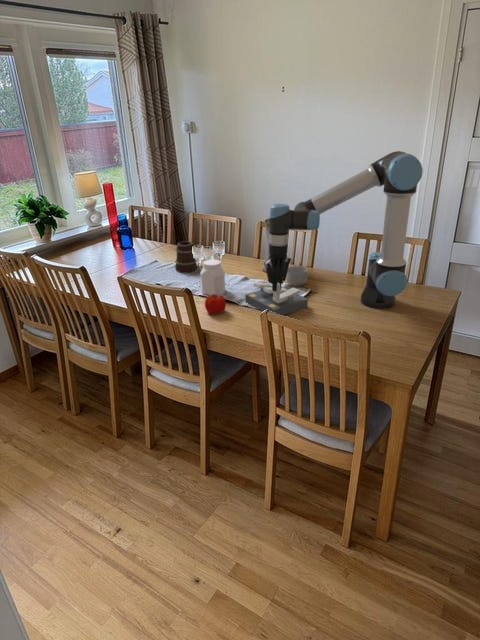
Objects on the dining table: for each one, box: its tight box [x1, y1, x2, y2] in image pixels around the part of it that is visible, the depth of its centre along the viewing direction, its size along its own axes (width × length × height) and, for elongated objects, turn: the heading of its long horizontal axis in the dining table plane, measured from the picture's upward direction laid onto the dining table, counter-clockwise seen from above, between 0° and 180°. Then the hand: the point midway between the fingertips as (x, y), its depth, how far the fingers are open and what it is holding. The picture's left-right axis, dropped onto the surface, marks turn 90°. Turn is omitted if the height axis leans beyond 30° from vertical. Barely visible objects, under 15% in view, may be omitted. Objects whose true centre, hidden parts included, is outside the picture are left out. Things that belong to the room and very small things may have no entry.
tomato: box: [204, 294, 227, 315], centre depth 192 cm, size 9×9×8 cm
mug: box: [174, 240, 198, 273], centre depth 243 cm, size 16×12×15 cm
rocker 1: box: [253, 282, 272, 289], centre depth 201 cm, size 4×12×2 cm, turn 125°
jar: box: [200, 259, 226, 296], centre depth 211 cm, size 12×10×15 cm
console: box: [244, 281, 309, 316], centre depth 197 cm, size 21×19×8 cm
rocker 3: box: [273, 287, 301, 303], centre depth 191 cm, size 4×12×2 cm, turn 125°
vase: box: [262, 217, 270, 273], centre depth 234 cm, size 13×14×28 cm
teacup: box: [286, 264, 309, 287], centre depth 221 cm, size 14×11×8 cm
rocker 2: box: [263, 287, 289, 293], centre depth 196 cm, size 4×12×2 cm, turn 125°
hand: (276, 297), depth 188 cm, fingers closed
